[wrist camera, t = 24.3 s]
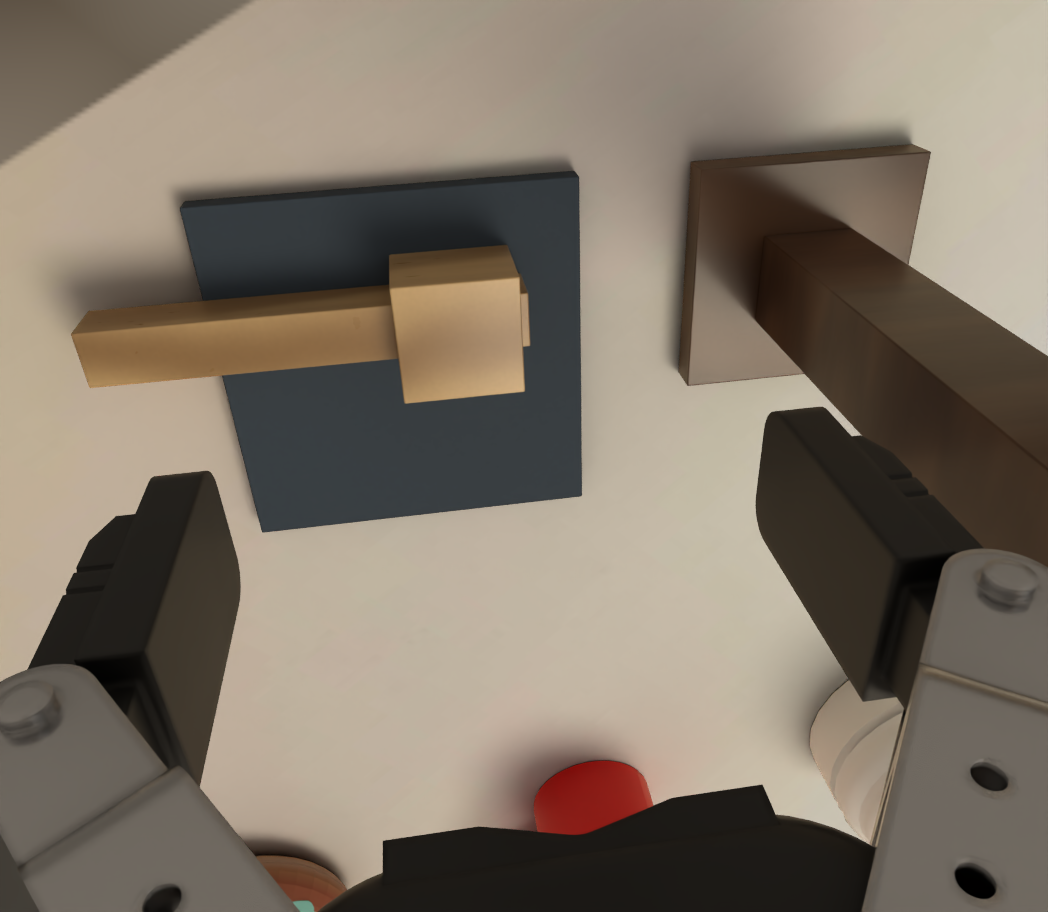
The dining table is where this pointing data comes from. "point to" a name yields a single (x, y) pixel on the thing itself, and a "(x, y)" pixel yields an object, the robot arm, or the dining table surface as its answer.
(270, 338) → the light wood mallet shape
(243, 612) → the dining table surface
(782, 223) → the brown pedestal stand
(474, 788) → the dining table surface
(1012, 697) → the robot arm
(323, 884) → the donut
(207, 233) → the mat
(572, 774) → the mug
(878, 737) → the honey pot
